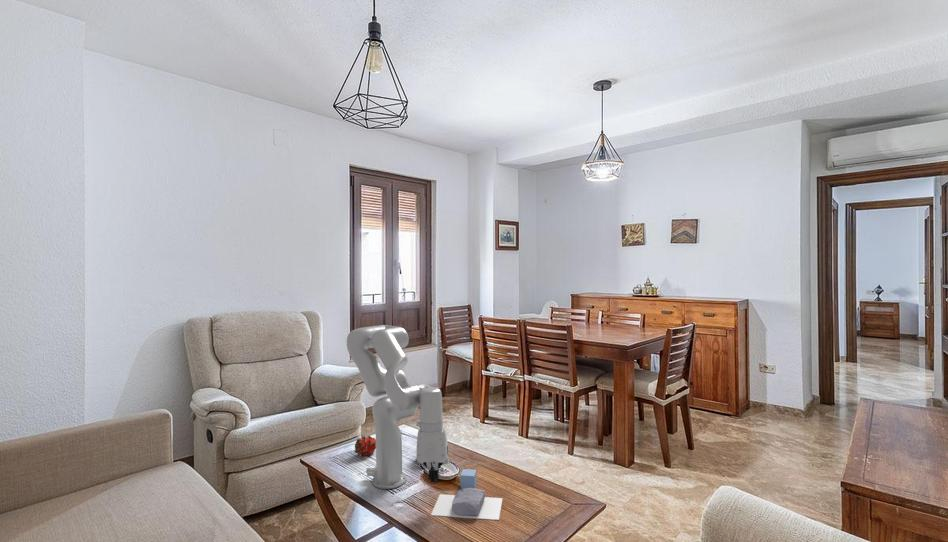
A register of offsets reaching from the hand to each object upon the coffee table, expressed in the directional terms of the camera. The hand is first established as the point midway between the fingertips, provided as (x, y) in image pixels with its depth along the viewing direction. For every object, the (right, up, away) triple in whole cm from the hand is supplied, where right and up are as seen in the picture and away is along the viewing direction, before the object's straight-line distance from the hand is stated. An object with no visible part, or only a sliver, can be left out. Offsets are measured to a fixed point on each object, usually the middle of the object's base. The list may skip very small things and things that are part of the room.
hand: (434, 480), depth 150 cm
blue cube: (+11, -8, +13) cm, 19 cm away
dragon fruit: (-33, -9, +42) cm, 54 cm away
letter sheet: (+11, -8, -1) cm, 14 cm away
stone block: (+11, -8, -1) cm, 14 cm away
